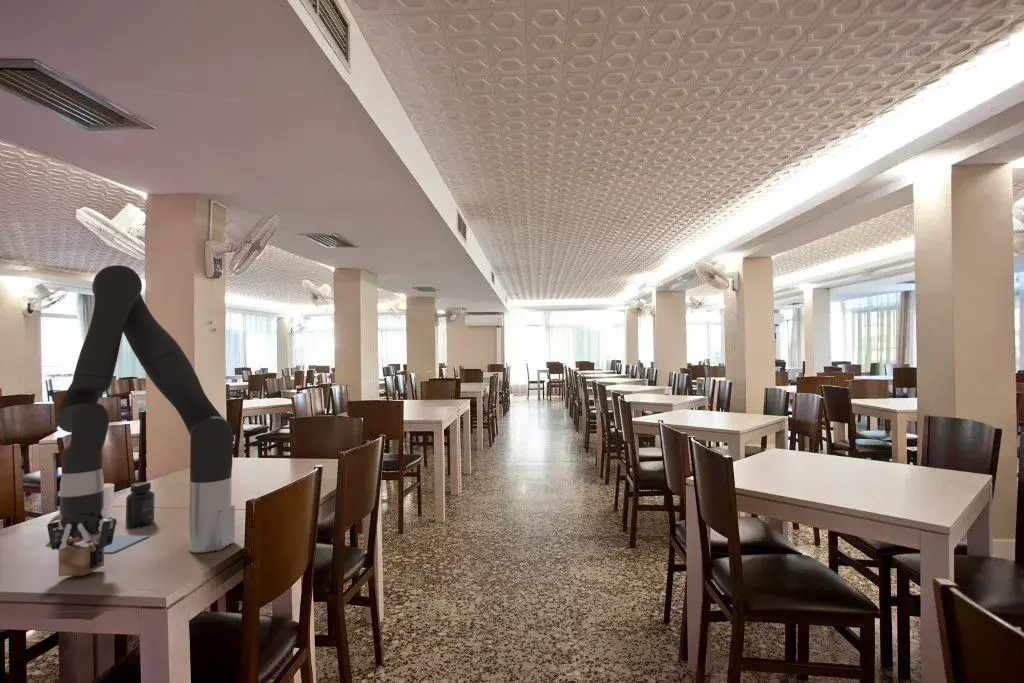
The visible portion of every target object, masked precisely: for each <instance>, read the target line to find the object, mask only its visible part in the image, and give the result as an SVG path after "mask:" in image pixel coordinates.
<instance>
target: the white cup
mask: <svg viewBox="0 0 1024 683" xmlns="http://www.w3.org/2000/svg"><path fill="white" fill-rule="evenodd" d="M114 496H115V484H114V483H104V507H103V509H102V511H101V514H102V516H103V519H109V520H110V519H112V516H113V515H112V514H113V507H114V505H113V504H114Z"/></svg>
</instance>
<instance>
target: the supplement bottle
mask: <svg viewBox="0 0 1024 683" xmlns="http://www.w3.org/2000/svg"><path fill="white" fill-rule="evenodd" d="M151 486H152V484H151V482H150V481H143V482H135V483H132V484H130V493H129V494H128V495H127V496H126V498H125V527H126V528H127V529H137V527H140V528H143V526H145V527H147V526H146V525H148V526H150V525H149V524H151V525H153V524H154V522H155V508H156V506H155V503H156V502H155V499H156V498H155V497H156V496H155V492H153V491H152V490H151V489H152V487H151ZM152 523H153V524H152Z"/></svg>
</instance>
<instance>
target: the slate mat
mask: <svg viewBox="0 0 1024 683" xmlns="http://www.w3.org/2000/svg"><path fill="white" fill-rule="evenodd" d="M148 538H150V535H114V536H113V541H112V544H110V545H108V546H106V547H104V554H116V553H117V552H121V551H122V550H124V549H126V548H128V547H131V546H133V545H135V544H137V543H139V542H142V541H144V540H146V539H148Z"/></svg>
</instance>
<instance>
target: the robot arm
mask: <svg viewBox="0 0 1024 683" xmlns="http://www.w3.org/2000/svg"><path fill="white" fill-rule="evenodd" d="M142 289H143V284H142V279H141V277H140V275H139V274H138V273H137V272H136V271H135V270H134V269H132V268H131V267H129V266H126V265H121V264H112V265H108V266H105V267H103V268H102V269H100V270H99V271H98V272H97V273H96V275H95V276H94V279H93V282H92V286H91V291H92V293H93V296H94V306H93V312H92V316H91V321H90V324H89V327H88V330H87V333H86V336H85V339H84V341H83V344H82V346H81V349H80V351H79V355H78V359H77V362H76V365H75V369H74V373H73V376H72V381H71V384H70V386H69V387H68V389H67V390H66V391H65V393H64V395H63V398H62V399H61V401H60V404H59V406H58V408H57V412H56V423H57V425H58V426H57V427H59V428H60V430H62V431H64V432H67V433H71V435H70V443H69V445H68V446H66V447H65V448H63V451H62V454H61V477H60V482H59V513H60V515H62V516H63V517H62V519H61V520H57V521H54V522H51V523H50V522H49V523H47V525H46V526H47V527H46V528H47V532H48V538H49V544H50V549H51V550H52V551H55V550H57V551H59V550H61V549H64V548H66V547H68V546H71V545H73V544H76V543H77V542H76V541H77V540H78V539H79V538H81V539H83V541H85V543H88V545H89V547H90V550H91V552H90V568H96V567H98V566H100V564H101V563H102V561H103V548H104V547H106V546H108V545H110V544H112V541H113V536H115V535H114V534H115V531H116V530H115V529H116V524H117V519H116V518H112V517H111V518H109V519H103V516H102V514H101V511H102V509H103V507H104V484H105V483H104V480H105V478H104V471H103V449H104V445H105V441H106V438H107V433H108V430H109V424H110V417H109V416H110V415H109V413H108V410H107V409H106V407H105V406H104V405H102V404H101V403H98V401H99V399H100V398H101V395H102V394H103V393H105V392H107V391H108V390H110V387H111V385H112V382H113V378H114V374H115V372H116V367H117V362H118V358H119V354H120V348H121V342H122V338H123V335H124V337H125V338H126V341H127V343H128V344H129V346H130V348H131V350H132V352H133V353H134V355H135V356H136V359H137V360H138V362H139V363H140V365H141V367H142V368H143V370H144V372H145V373H146V375H147V376H148V378H149V379H150V381H151V383H153V384H154V386H155V387H156V388H157V389H158V390H159V392H160V393H161V395H162V396H164V398H165V399H167V401H168V402H170V403H171V405H172V406H173V407H174V408H175V410H176V411H177V413H178V414H179V417H181V418H180V419H182V422H183V423H184V425H185V427H186V429H187V431H188V433H189V437H190V438H189V440H190V442H189V443H190V446H189V447H190V448H189V449H190V450H189V452H190V458H189V459H190V464H189V528H188V529H189V530H188V531H189V536H188V537H189V540H188V542H189V543H188V548H189V550H188V551H189V552H191V553H195V554H196V553H198V554H201V553H202V554H203V553H210V551H211V552H215V551H214V550H216V551H222V550H224V549H226V548H227V547H229V546H230V545H229V544H231V543H232V544H234V543H235V542H236V541H235V540H236V539H235V537H236V536H235V535H236V534H235V533H236V531H235V530H236V529H235V528H236V527H235V526H236V522H235V521H236V519H235V518H236V516H235V515H236V506H235V505H233V504H232V473H233V472H232V469H233V448H234V446H233V445H234V438H233V436H234V435H233V429H232V425H230V423H229V422H228V421H227V419H225V418H224V416H222V414H221V413H220V412H219V411H218V410H217V409H216V408H215V406H214V405H213V403H212V402H211V401H210V399H209V398H208V396H207V394H206V393H205V391H204V390H203V387H202V385H201V382H200V379H199V377H198V375H197V373H196V371H195V369H194V367H193V366H192V364H191V362H190V359H189V358H188V356H187V355H186V354H185V352H184V350H183V349H182V348H181V345H180V344H178V342H177V340H175V339H174V337H173V336H172V335H171V334H170V333H169V332H168V331H167V330H166V329H165V328H164V327H163V326H162V325H161V324H160V323H159V322H158V321H157V320H156V319H155V317H154V316H153V315H152V312H151V311H150V310H149V308H148V305H147V304H146V302H145V300H144V298H143V296H142V294H141V292H142ZM99 526H101V527H99ZM63 528H64V529H65V532H64V529H63ZM57 537H58V539H57ZM95 541H96V543H95ZM234 541H235V542H234ZM233 542H234V543H233ZM232 544H231V545H232ZM228 545H229V546H228ZM226 546H227V547H226ZM225 547H226V548H225ZM223 548H224V549H223ZM221 549H222V550H221Z"/></svg>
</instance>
